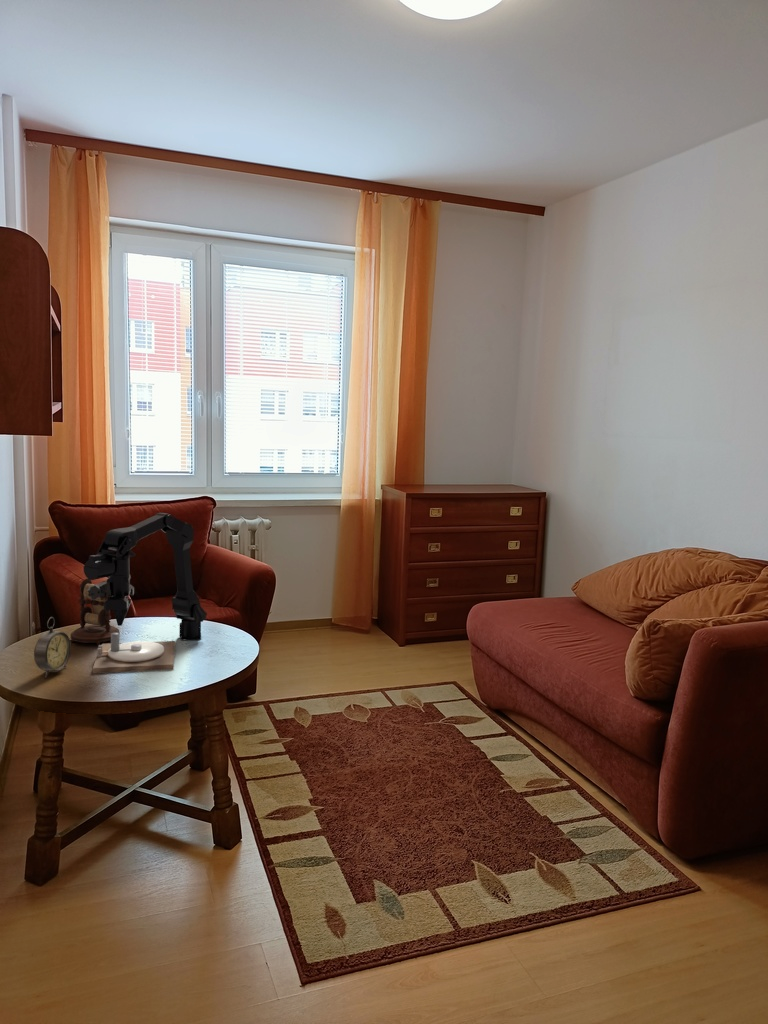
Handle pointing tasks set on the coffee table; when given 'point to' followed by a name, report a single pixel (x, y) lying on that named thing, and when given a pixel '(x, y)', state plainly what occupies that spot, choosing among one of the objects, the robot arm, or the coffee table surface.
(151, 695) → the coffee table surface
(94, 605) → the wooden thread spool stand
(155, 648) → the dial
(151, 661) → the stand plate
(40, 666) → the alarm clock
